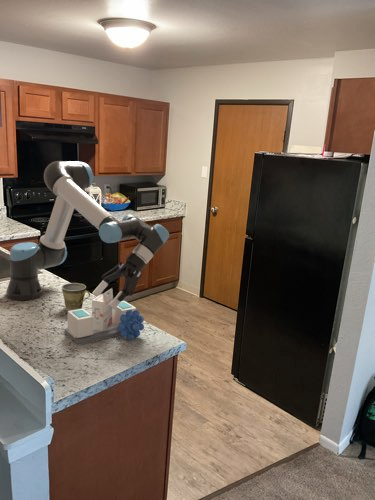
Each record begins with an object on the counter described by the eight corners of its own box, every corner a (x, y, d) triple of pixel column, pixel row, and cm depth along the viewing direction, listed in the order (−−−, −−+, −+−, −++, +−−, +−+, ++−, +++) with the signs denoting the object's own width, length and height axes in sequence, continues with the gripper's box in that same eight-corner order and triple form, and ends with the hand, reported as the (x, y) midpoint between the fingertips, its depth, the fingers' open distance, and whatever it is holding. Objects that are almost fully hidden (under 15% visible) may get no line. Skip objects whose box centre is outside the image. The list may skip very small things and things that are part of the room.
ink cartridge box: (100, 321, 166) (101, 285, 162) (112, 323, 165) (113, 287, 161) (90, 329, 157) (91, 292, 154) (103, 331, 156) (104, 294, 153)
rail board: (64, 332, 158) (64, 309, 156) (122, 319, 173) (123, 298, 171) (78, 345, 149) (78, 321, 147) (138, 330, 164) (139, 308, 162)
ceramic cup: (56, 310, 178) (56, 287, 176) (71, 302, 187) (71, 281, 185) (82, 316, 174) (82, 293, 171) (96, 308, 183) (96, 287, 180)
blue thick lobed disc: (124, 347, 150) (125, 316, 147) (113, 340, 154) (114, 310, 152) (150, 339, 157) (151, 309, 155) (139, 333, 162) (140, 304, 159)
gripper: (162, 272, 156) (125, 317, 151) (128, 256, 175) (94, 296, 169) (151, 260, 152) (113, 306, 146) (117, 245, 171) (81, 285, 165)
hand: (102, 301), depth 158 cm, fingers open, 13 cm apart
